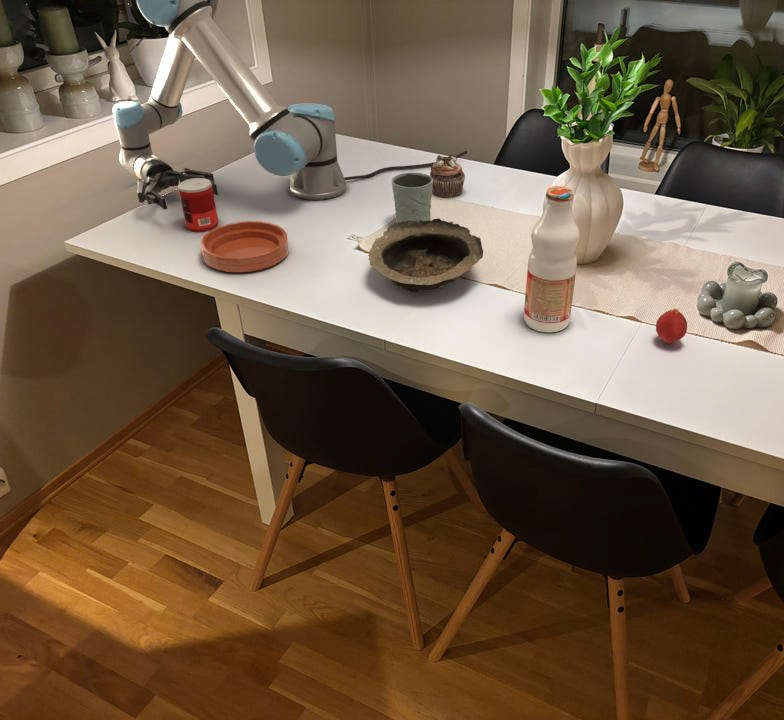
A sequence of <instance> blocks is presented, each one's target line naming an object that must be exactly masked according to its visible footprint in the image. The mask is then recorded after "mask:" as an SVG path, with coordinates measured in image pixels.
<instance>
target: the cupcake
mask: <svg viewBox="0 0 784 720" xmlns="http://www.w3.org/2000/svg"><path fill="white" fill-rule="evenodd" d="M455 156H456V155H453V154H450V155H448V156H443V155H440V154H438V155H437V156H436V158H435V160H436V161H434V162H435V163H434V164H433V165H432V166H430V172H429V176H430V177H432V179H433V185H432V192H433V194H434V195H435V196H437V197H440V198H445V199H446V198H447V199H449V198H450V199H451V198H456V197H459V196H460V195H462V194H463V189H464V182H465V180H466V174H465V172H464V171H463V168H462V165H461V163H460V164H459V163H458V162H456V161H457V158H456V157H455Z"/></svg>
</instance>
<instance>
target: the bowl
mask: <svg viewBox="0 0 784 720" xmlns="http://www.w3.org/2000/svg"><path fill="white" fill-rule="evenodd" d="M200 249H201V255H202V259H203V261H204V263H205V264H206V265H208V266H209V267H210V268H213V269H215V270H217V271H222V272H227V273H248V272H256V271H259V270H260V271H261V270H264V269H267V268H270V267H273V266H275V265H277V264H278V263H280V262H281V261H283V260H284V259H285V258H286V257H287V256H288V254H289V252H290V250H289V249H290V248H289V238H288V233H287V232H286V230H285V229H284V228H283V227H281V226H279V225H277V224H274V223H271V222H267V221H258V220H257V221H255V220H247V221H245V220H244V221H238V222H233V223H227V224H223V225H220V226H218V227H215V228H213V229H211V230H209V231H208V232H207V233H206V234H205V235H204V236H203V237H202V238H201V240H200Z"/></svg>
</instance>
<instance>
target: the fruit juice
mask: <svg viewBox="0 0 784 720" xmlns="http://www.w3.org/2000/svg"><path fill="white" fill-rule="evenodd" d="M545 199H546V204H545V206H544V209H543V212H542V213H541V216H540V218H539V219H538V220H537V221H536V222H535V223H534V225H533V226H532V229H531V234H530V241H531V245H532V247H531V248H532V249H531V250H530V252H529V254H528V260H527V270H526V271H527V272H526V284H525V294H524V295H525V296H524V307H523V320H524V322H525V324H526V325H527V326H528V327H529V328H530V329H532V330H534V331H537V332H541V333H556V332H561V331H563V330H564V329H565V328H567V327H568V326H569V324H570V320H571V315H572V306H573V299H574V291H575V283H576V275H577V269H578V256H577V253H576V250H577V248H578V246H579V243H580V236H581V235H580V234H581V233H580V228H579V227H578V224H577V223H576V220H575V217H574V214H573V208H572V204H571V203H572V202H573V200H574V191H573V189H571V188H569V187H566V186H558V185H556V186H550V187H548V188H547V189H546V193H545Z"/></svg>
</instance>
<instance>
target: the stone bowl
mask: <svg viewBox="0 0 784 720" xmlns="http://www.w3.org/2000/svg"><path fill="white" fill-rule="evenodd" d="M483 255H484V249H483V245H482V240H481V237H479V236H476V235H473V234H472V233H471V230H470V229H469V227H466V226H463V225H462V226H461V225H460V224H459V223H454V222H453V221H449V222H448V221H445V220H442V219H441V218H439V217H438V218H432V220H431V219H430V220H428V221H422V220H420V221H419V222H417V221H407V222H406V221H403V222H398V223H396V222H395V223H393V224H390V225H388V226H387V229H386V230H385V231H383V234H382V235H381V236H380V237H377V238H375V240H374V241H373V243H372V245H371V248H370V249H369V251H368V255H367V257H368V263H369V265H370V267H372V268H375V270H377V272H379V273H380V274H382V275H383V276H384V277H385V278H388V279H389V280H390V281H391V282H392V283H393V284H394V285H395V286H396V287H399V288H401V289H403V290H405V291H408V292H411V293H419V292H430V291H435V290H438V289H440V288H443V287H445V286H447V285H449V284H451V283H453V282H455V281H456V280H458V279H459V278H460V277H462V275H463V274H464V273H466V272H468V271H470V270H471V269H472V268H473V267H474V266H475V265H476V264H477V263H479V262H480V260H482V259H483V257H484V256H483Z"/></svg>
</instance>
